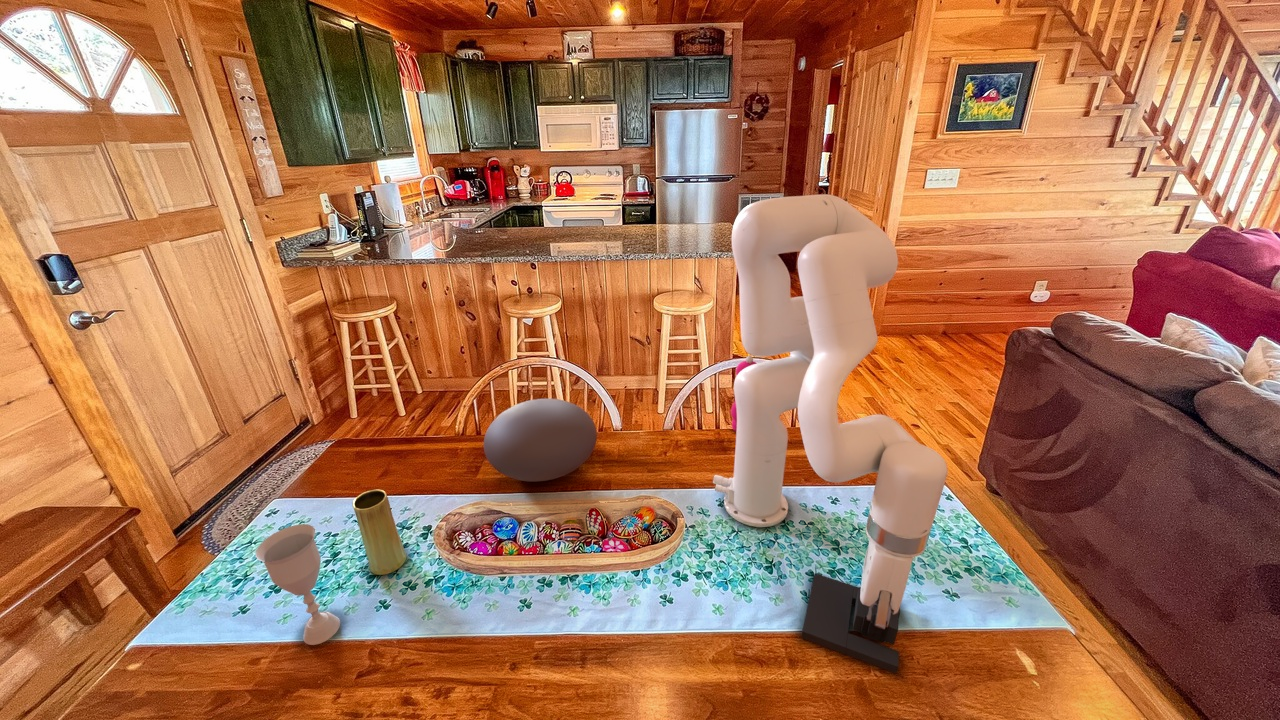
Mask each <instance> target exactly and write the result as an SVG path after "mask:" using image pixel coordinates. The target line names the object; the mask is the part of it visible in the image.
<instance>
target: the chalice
mask: <svg viewBox="0 0 1280 720" xmlns="http://www.w3.org/2000/svg"><path fill="white" fill-rule="evenodd" d="M315 536H316V529H315V527H314V526H313V525H310V524H302V523H300V524H295V525H291V526H287V527H285V528H282V529H280V530H278V531H276V532H274V533H272V534H271V535H270V536H267V538H265V539H264V540H263V541H262V542H261V543H260V544H259V545H258V547H257V548H256V549H255V555H254V556H255V558H256V560H257V561H259V562H262V563H263V564H264V566H265V568H266V571H267V573H268V575H269V577H270V580H271V581H272V584H273V585H276V586H277V587H279V588H280V589H281V590H283V591H285V592H288V593H290V594H292V595H295V596H303V601H302V603H303V604H305V605H307V607H306V609H305V612H306V613H307V614H310V616H311V617H309V618H308V620H307V621H306V622H305V625H304V630H303V635H302V640H303V642H304V643H305V644H306V645H308V646H315V645H320V644H322V643H325V642H326V641H328V640H329V639H332V637H333V636H334V635H335V634H336V633H337V632H338V631H339V630H340V626H341V620H340V618H339V616H336V615H335V614H333V613H332V612H330V611H320V610H319V609H320V606H321V604H320V603H319V602H316V598H317V597H316V596H317V595H315V594H313V593H312V590H313V589H314V588H315V587H316V585H317V580H318V578H319V575H320V571H321V570H320V569H321V554H320V551H319V549H318V546H317V543H316V541H315Z"/></svg>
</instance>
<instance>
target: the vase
mask: <svg viewBox="0 0 1280 720" xmlns="http://www.w3.org/2000/svg"><path fill="white" fill-rule="evenodd" d="M390 504H391V503H390V499H389V497H388V495H387V493H386V491H384V490H383V489H371V490H367V491H364V492H362V493H360V494H359V495H357V496H356V497H355V498H354V499H353V501H352V508H353V510H354V514H355V517H356V521H357V524H358V528H359V532H360V536H361V539H362V543H363V546H364V550H365V554H366V557H367V561H368V569H369V571H370V572H371V573H372V574H373V575H377V576H385V575H389V574H392V573H393V572H396V571H397V570H398V569H400V568H401V567H402V566H403V565H404V564H405V562H406V560H407V558H408V557H407V556H408V555H407V553H406V551H405V548H404V545H403V542H402V539H401V536H400V534H399V531H398V527H397V525H396V522H395V518H394V515H393V513H392V508H391V505H390Z"/></svg>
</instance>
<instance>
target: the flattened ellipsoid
mask: <svg viewBox="0 0 1280 720" xmlns="http://www.w3.org/2000/svg"><path fill="white" fill-rule="evenodd" d="M597 439H598V432H597V426H596V424H595V422H594V420H593V418H592V417H591V416H590V414H589V413H588V412H587V411H586V410H585V409H583V408H582V407H580V406H578V405H577V404H575V403H573V402H569V401H566V400H563V399H559V398H535V399H530V400H525V401H522V402H519V403H516V404H514V405H513V406H511V407H508V408H507V409H504V411H502V412H501V413H500V414H498V415H497V416H496V418H494V420H493V421H492V422H491V423H490V424H489V426H488V428H487V429H486V432H485V434H484V437H483V452H484V455H485V458H486V460H487V461H488V463H489V464H490V465H491V466H492V468H494V469H495V470H496V471H497V472H498V473H500V474H502V475H504V476H506V477H507V478H510V479H513V480H516V481H523V482H529V483H531V482H532V483H533V482H534V483H535V482H536V483H537V482H548V481H551V480H556V479H559V478H563V477H565V476H566V475H569V474H571V473H573V472H574V471H576V470H577V469H579V468H580V467H582V465H583V464H585V462H586V461H587V460H589V458H591V456H592V453H593V451H594V450H595V448H596V445H597Z"/></svg>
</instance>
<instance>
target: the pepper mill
mask: <svg viewBox="0 0 1280 720" xmlns="http://www.w3.org/2000/svg"><path fill="white" fill-rule="evenodd" d="M753 357H754V356H752V355H747V356H746V357H745V360H744V361H741V362H740V363H738V365H737V366H736V369H735V375H736V376H737V375H738V374H739V372H741V371H742V370H743V369H745V368H746V367H748V366H751V365H754V364H757V363H758V362H756V361H754V358H753ZM730 415H731V416H730V417H731V418H732V420H731V428H732V430H733V431H734V432H736V431H737V410H736V402H735V401H734V402H733V403H732V405H731V408H730Z"/></svg>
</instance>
